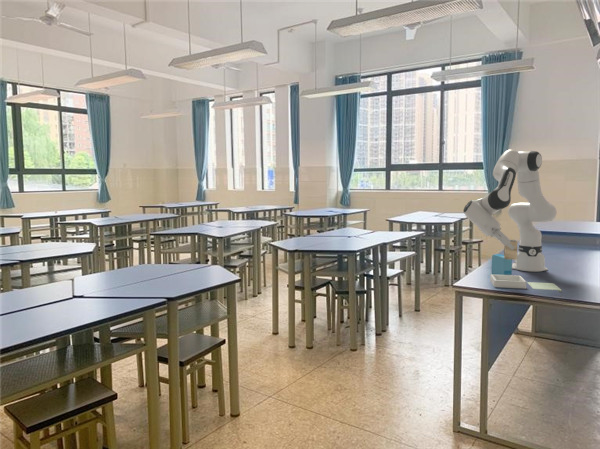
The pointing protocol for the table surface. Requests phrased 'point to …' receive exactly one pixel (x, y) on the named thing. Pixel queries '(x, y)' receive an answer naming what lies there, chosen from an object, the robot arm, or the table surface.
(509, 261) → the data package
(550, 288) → the pad
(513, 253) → the part box
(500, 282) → the bin
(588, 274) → the table surface
